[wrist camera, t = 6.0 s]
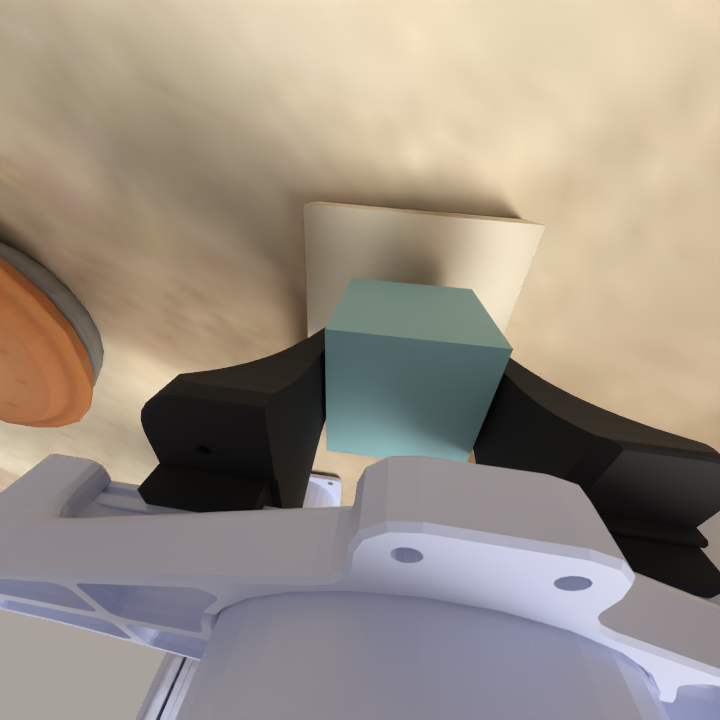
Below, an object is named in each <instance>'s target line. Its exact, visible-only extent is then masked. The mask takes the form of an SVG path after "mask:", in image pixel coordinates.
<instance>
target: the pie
mask: <svg viewBox="0 0 720 720" xmlns="http://www.w3.org/2000/svg"><path fill="white" fill-rule="evenodd" d="M103 353H104V350H103V346H102V342H101V338H100V333H99V331H98V330H97V328H96V326H95V324H94V322H93V320H92V318H91V316H90V315H89V313H88V311H87V310H86V309H85V308H84V306H83V305H82V304H81V303H80V301H79V300H78V299H77V298H76V296H75V295H74V294H73V293H72V291H71V290H70V289H68V288H67V287H66V286H65V285H64V284H63V283H62V282H61V281H60V280H59V279H58V278H56V277H55V276H54V275H53V274H52V273H51V272H50V271H49V270H48V269H46V268H45V267H43V266H42V265H40V264H39V263H37V262H36V261H34V260H33V259H31V258H30V257H28V256H27V255H25V254H24V253H22V252H21V251H19V250H16V249H14V248H12V247H10V246H8V245H5V244H3V243H1V242H0V420H2V421H5V422H7V423H13V424H20V425H26V426H32V427H60V426H64V425H67V424H71V423H74V422H78V421H80V419H81V418H82V417H83V416H84V415H85V413H86V412H87V411H88V410H89V408H90V405H91V400H92V394H93V387H94V385H95V383H96V380H97V378H98V375H99V372H100V369H101V366H102V360H103Z"/></svg>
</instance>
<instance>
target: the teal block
mask: <svg viewBox="0 0 720 720" xmlns="http://www.w3.org/2000/svg"><path fill="white" fill-rule="evenodd" d="M512 350H513V348H512V347H511V346H510V344H509V343H508V341H507V340H506V338H505V337H504V335H503V334H502V332H501V331H500V329H499V328H498V327H497V325H496V324H495V322H494V321H493V319H492V318H491V316H490V315H489V313H488V312H487V310H486V309H485V308H484V306H483V305H482V303H481V302H480V300H479V299H478V297H477V296H476V294H475V293H474V291H473V290H472V289H465V288H454V287H443V286H432V285H421V284H410V283H399V282H388V281H377V280H366V279H355V278H352V279H351V281H350V283H349V285H348V287H347V289H346V291H345V292H344V294H343V296H342V298H341V300H340V302H339V304H338V305H337V307H336V309H335V311H334V313H333V315H332V317H331V318H330V320H329V322H328V324H327V326H326V328H325V375H326V436H327V450H328V451H335V452H342V453H349V454H356V455H363V456H370V457H377V458H384V459H386V458H388V457H390V456H414V455H418V456H425V457H432V458H439V459H446V460H453V461H459V462H466V463H467V461H468V458H469V456H470V453H471V451H472V449H473V446H474V444H475V441H476V439H477V436H478V434H479V431H480V429H481V426H482V424H483V421H484V419H485V417H486V414H487V412H488V409H489V407H490V404H491V402H492V399H493V397H494V394H495V392H496V390H497V387H498V385H499V382H500V380H501V377H502V375H503V372H504V370H505V367H506V365H507V363H508V360H509V358H510V355H511V353H512Z"/></svg>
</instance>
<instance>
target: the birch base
mask: <svg viewBox="0 0 720 720" xmlns="http://www.w3.org/2000/svg"><path fill="white" fill-rule="evenodd" d="M303 220H304V247H305V273H306V300H307V326H308V338H309V337H310V336H312V335H313V334H315V333H317V332H318V331H320V330H321V329H323V328H324V327H326V326H327V324H328V322H329V320H330V318H331V317H332V315H333V313H334V311H335V309H336V307H337V305H338V304H339V302H340V300H341V298H342V296H343V294H344V292H345V291H346V289H347V287H348V285H349V283H350V281H351V279H352V278H355V279H366V280H377V281H388V282H399V283H410V284H421V285H432V286H443V287H454V288H465V289H472V290H473V291H474V293H475V294H476V296H477V297H478V299H479V300H480V302H481V303H482V305H483V306H484V308H485V309H486V310H487V312H488V313H489V315H490V316H491V318H492V319H493V321H494V322H495V324H496V325H497V327H498V328H499V329H500V331H501V332H502V334H503V333H504V331H505V328H506V326H507V323H508V321H509V318H510V316H511V313H512V310H513V308H514V305H515V303H516V300H517V298H518V295H519V292H520V290H521V287H522V285H523V282H524V280H525V277H526V275H527V272H528V269H529V267H530V264H531V262H532V259H533V257H534V254H535V252H536V249H537V246H538V244H539V241H540V239H541V236H542V234H543V231H544V228H545V226H546V225H543V224H539V223H535V222H531V221H528V220H524V219H516V218H504V217H493V216H481V215H469V214H458V213H446V212H435V211H423V210H412V209H400V208H389V207H377V206H366V205H354V204H343V203H331V202H320V201H317V202H311V203H306V204H303Z"/></svg>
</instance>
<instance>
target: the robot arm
mask: <svg viewBox="0 0 720 720" xmlns="http://www.w3.org/2000/svg"><path fill="white" fill-rule="evenodd" d="M325 328H326V327H324V328H323V329H321V330H320V331H318V332H317V333H315V334H313V335H312V336H310V337H309V338H307V339H305V340H303V341H301V342H299V343H298V344H296V345H294V346H292V347H290V348H288V349H286V350H284V351H281V352H279V353H276V354H274V355H271V356H268V357H265V358H262V359H259V360H255V361H252V362H249V363H245V364H241V365H237V366H232V367H227V368H222V369H216V370H209V371H202V372H194V373H185V374H179V375H178V376H177V377H176V378H174V379H173V380H172V381H171V382H170V383H169V384H167V385H166V386H165V387H164V388H163V389H162V390H160V391H159V392H158V393H157V394H156V395H155V396H153V397H152V398H151V399H150V400H149V401H147V402H146V403H145V405H144V407H143V409H142V410H141V423H142V426H143V429H144V432H145V434H146V436H147V438H148V440H149V442H150V444H151V446H152V448H153V450H154V452H155V454H156V456H157V458H158V460H159V462H160V464H159V465H158V466H157V467H156V468H155V469H154V471H153V472H152V473H151V474H150V475H149V476H148V477H147V479H146V480H145V481H144V482H143V483H142V484H141V485H134V484H128V483H122V482H116V481H111V477H110V475H109V473H108V472H107V470H106V469H105V468H104V467H103V466H102V465H101V464H99V463H97V462H96V461H93V460H90V459H84V458H78V457H71V456H65V455H59V454H51V455H49V456H48V457H47V458H45V459H44V460H43V461H41V462H40V463H39V464H38V465H36V466H35V467H34V468H32V469H31V470H30V471H28V472H27V473H26V474H24V475H23V476H22V477H21V478H19V479H18V480H17V481H15V482H14V483H13V484H11V485H10V486H9V487H8V488H6V489H5V490H4V491H2V492H1V493H0V610H5V611H10V612H15V613H19V614H24V615H28V616H33V617H38V618H42V619H46V620H50V621H54V622H58V623H62V624H67V625H71V626H74V627H78V628H82V629H86V630H90V631H93V632H97V633H101V634H105V635H108V636H112V637H116V638H120V639H123V640H126V641H130V642H134V643H137V644H141V645H144V646H148V647H152V648H155V649H159V650H162V651H166V652H167V653H166V655H165V657H164V659H163V661H162V663H161V665H160V667H159V669H158V671H157V673H156V675H155V677H154V679H153V681H152V684H151V686H150V688H149V690H148V692H147V694H146V697H145V699H144V701H143V703H142V706H141V708H140V711H139V713H138V715H137V718H136V720H720V572H719V570H718V569H717V568H716V567H715V566H714V564H713V563H712V562H711V561H710V559H709V558H708V557H707V556H706V555H705V553H704V552H703V551H702V550H701V549H700V548H705V547H707V546H708V540H707V539H706V538H705V537H704V536H703V535H702V534H701V533H700V531H699V530H698V529H697V528H696V527H698V526H699V525H701V524H702V523H703V522H705V521H706V520H708V519H709V518H710V517H712V516H713V515H715V514H716V513H717V512H719V511H720V454H719V453H718V452H717V451H716V450H715V449H713V448H712V447H710V446H708V445H706V444H704V443H700V442H697V441H694V440H691V439H688V438H684V437H681V436H678V435H675V434H671V433H668V432H665V431H662V430H659V429H655V428H652V427H649V426H647V425H644V424H641V423H638V422H636V421H633V420H630V419H627V418H625V417H622V416H619V415H617V414H614V413H612V412H609V411H607V410H604V409H602V408H600V407H597V406H595V405H593V404H591V403H588V402H586V401H584V400H582V399H579V398H577V397H575V396H573V395H571V394H569V393H567V392H565V391H563V390H562V389H560V388H558V387H556V386H554V385H552V384H550V383H549V382H547V381H545V380H543V379H542V378H540V377H539V376H537V375H535V374H534V373H532V372H531V371H529V370H527V369H526V368H524V367H523V366H521V365H520V364H518V363H517V362H516V361H514V360H513V359H511V358H509V360H508V363H507V365H506V367H505V370H504V372H503V375H502V377H501V380H500V382H499V385H498V387H497V390H496V392H495V394H494V397H493V399H492V402H491V404H490V407H489V409H488V412H487V414H486V417H485V419H484V421H483V424H482V426H481V429H480V431H479V434H478V436H477V439H476V441H475V444H474V446H473V450H474V455H475V460H476V464H473V463H466V462H459V461H453V460H446V459H439V458H432V457H425V456H418V455H414V456H390V457H388V458H386V459H384V460H381V461H379V462H377V463H375V464H372V465H370V466H368V467H366V469H365V470H364V472H363V474H362V475H361V477H360V479H359V481H358V482H357V488H356V495H355V502H354V505H353V506H340V501H341V480H340V479H339V478H337V477H330V476H324V475H317V474H311V470H312V466H313V462H314V458H315V454H316V450H317V446H318V443H319V439H320V435H321V432H322V429H323V426H324V423H325V420H326V375H325Z"/></svg>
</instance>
